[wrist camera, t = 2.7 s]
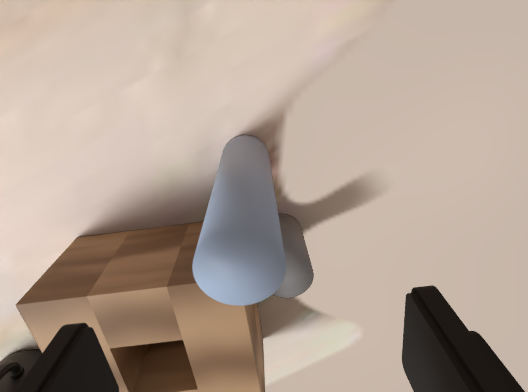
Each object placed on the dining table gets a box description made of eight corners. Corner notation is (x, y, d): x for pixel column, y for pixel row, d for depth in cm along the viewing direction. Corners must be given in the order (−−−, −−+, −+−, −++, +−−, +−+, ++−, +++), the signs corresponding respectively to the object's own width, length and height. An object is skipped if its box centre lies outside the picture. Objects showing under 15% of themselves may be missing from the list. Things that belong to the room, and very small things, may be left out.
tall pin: (218, 138, 25) (183, 235, 12) (266, 132, 25) (281, 223, 12) (226, 182, 26) (202, 310, 14) (271, 176, 26) (290, 300, 13)
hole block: (77, 237, 28) (15, 305, 21) (242, 216, 28) (239, 278, 20) (125, 355, 34) (91, 440, 26) (263, 339, 33) (266, 420, 26)
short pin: (257, 217, 28) (258, 258, 22) (299, 211, 28) (311, 252, 22) (262, 252, 29) (264, 300, 24) (302, 247, 29) (315, 294, 24)
